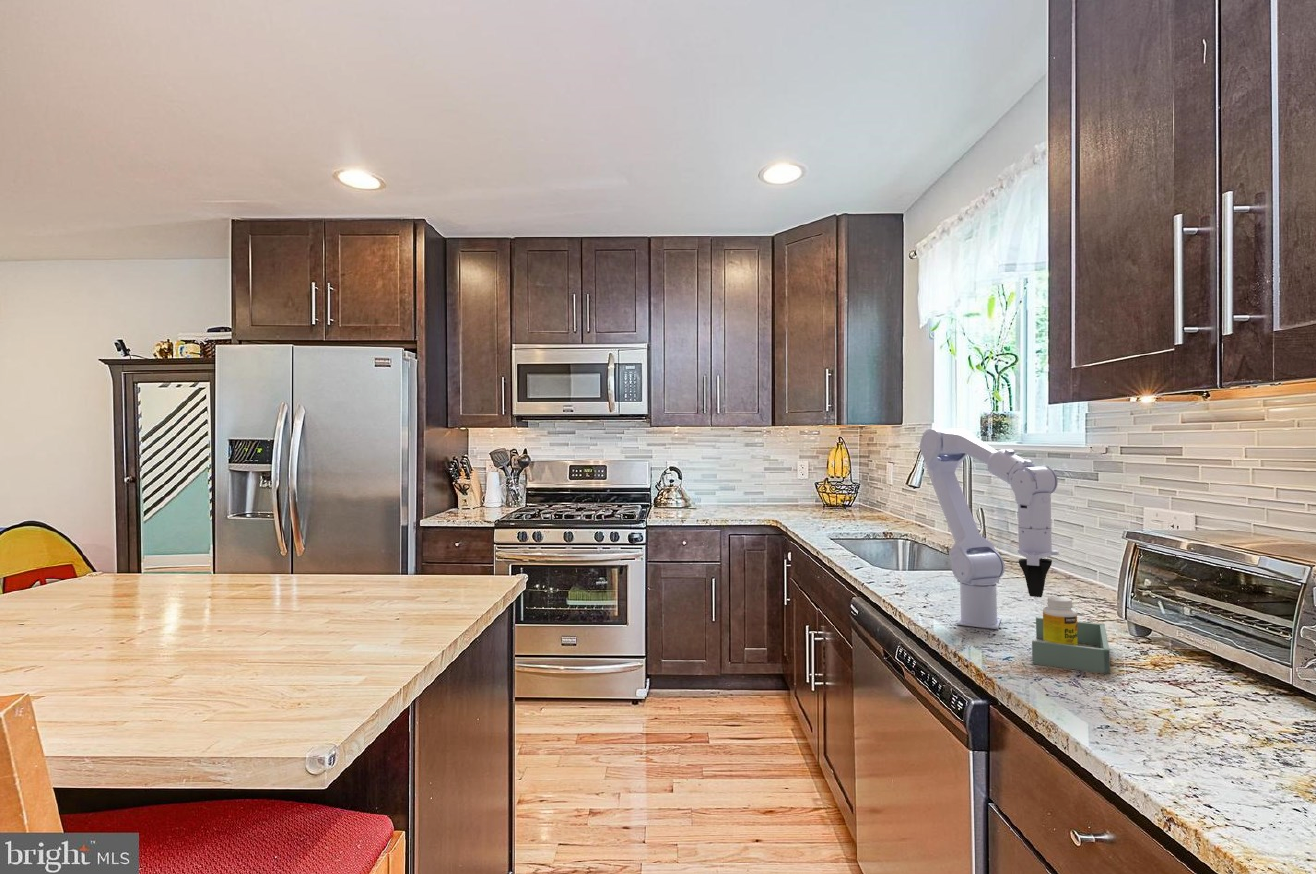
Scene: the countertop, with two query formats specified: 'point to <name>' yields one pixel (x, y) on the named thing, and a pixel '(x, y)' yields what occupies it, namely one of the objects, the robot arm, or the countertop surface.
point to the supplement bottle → (1060, 621)
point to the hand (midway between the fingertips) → (1035, 596)
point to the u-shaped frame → (1074, 649)
